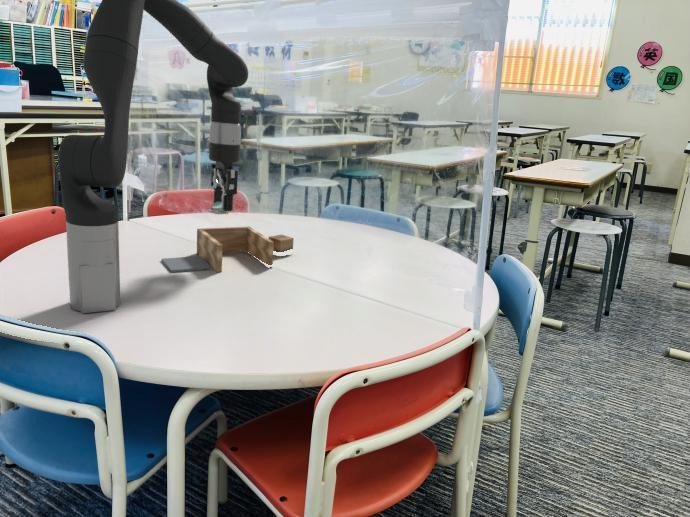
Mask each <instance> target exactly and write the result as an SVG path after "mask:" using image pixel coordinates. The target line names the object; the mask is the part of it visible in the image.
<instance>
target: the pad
mask: <svg viewBox="0 0 690 517" xmlns="http://www.w3.org/2000/svg"><path fill="white" fill-rule="evenodd" d="M161 262H162V263H163V265H165V267H166V268H167V269H168V271H170V273H171V274H172V273H184V272H183V271H186V272H194V271H193V270H198V271H203V270H202V269H211V270H213V268H212V267H211V266H210V265H209V264H208V263H207V262H206V261H205V260H204V259H203V258H201V257H200V256H199V255H197V256H196V255H195V256H183V257H167V258H166V257H165V258H161Z"/></svg>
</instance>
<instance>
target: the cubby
mask: <svg viewBox="0 0 690 517" xmlns="http://www.w3.org/2000/svg"><path fill="white" fill-rule="evenodd" d="M196 229H197V230H196V254H197V256H200V257H201V258H203V259H204V260H205V261H206V262H207V263H208V264H209V265H210V266H211V267H212V270H214V269H215V270H216V271H217V272H216V271H215V270H214V271H215V272H216V273H222V270H223V254H227V253H242V251H247V252H249V253H250V254H251V255H253V256H255V257H256V258H258V259H259V260H261V261H262V262H264V263H266V264H268V265H272V264H274V255H273V250H274V242H273V241H271V240H270V239H269V237H268V236H265V235H263V234H262V233H260V232H259V231H257V230H255V229H254V228H252V227H251V226H237V227H236V226H233V227H230V226H229V227H228V226H227V227H207V228H206V227H205V228H196ZM247 252H246V253H247ZM249 253H248V254H249ZM250 254H249V255H250ZM251 255H250V256H251ZM253 256H252V257H253Z"/></svg>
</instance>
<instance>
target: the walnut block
mask: <svg viewBox="0 0 690 517" xmlns="http://www.w3.org/2000/svg"><path fill="white" fill-rule="evenodd" d="M268 239H270V240H271V241H273V242H274V250H273V251H276V252H284V251H287V250H290V249H293V250H294V237H290V236H288V235H285V234H277V235H270V236H268Z"/></svg>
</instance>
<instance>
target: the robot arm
mask: <svg viewBox="0 0 690 517" xmlns="http://www.w3.org/2000/svg"><path fill="white" fill-rule="evenodd" d="M144 12H146V13H147V14H148V15H150V16H151V17H152V18H153V19H155V20H156V21H157V22H158V23H159V24H160V25H162V26H163V27H164V29H166V30H167V31H168V32H169V33H170V34H171V36H173V37H174V38H175V39H176V40H177V41H178V42H179V44H180V45H181V46H183V47H184V49H185V50H186V51H187V52H188V53H189V54H190V55H191V56H192V57H193V58H194V59H196V60H197V61H199V62H203V63H205V64H206V65H207V69H206V82H207V87H208V93H209V97H210V102H211V111H210V114H211V115H210V116H211V117H210V127H209V140H208V141H209V144H208V147H209V148H208V159H209V160H210V161H212V162H214V163H211V165H210V167H211V168H210V170H211V171H210V172H211V173H210V187H212V190H214V191H213V204H214V203H215V202H222V193H223V195H224V196H223V210H224V211H229V212H231V211H233V210H232V208H233V207H234V206H233V205H234V204H233V203H234V197H235V195H237V194H238V179H239V178H238V175H239V171H238V170H237V169H234V165H233V164H234V163H235V164H236V163H239V162H240V160H241V144H242V141H241V140H242V130H241V121H242V120H241V117H242V104H241V101H240V100H238V99H237V98H235V96H234V91H233V88H238V87H242V86H243V85H245V84H246V83H247V81H248V79H249V69H248V66H247V63H246V62H245V60H244V59H243V57H241V55H239V54H238V53H237V52H236V51H235V50H234V49H233V48H232V47H230V46H229V45H227V43H225V42H224V41H222V39H220V38H218V36H216V35H215V33H214V32H213V31H212V30H211V29H210V27H209V26H208V25H207V24H206V23H205V22H204V21H203V19H202V17H200V16H199V15H198V14H197V13H195V11H193V10H192V9H190V8H189V6H186V5H185V4H183V3H181V2H180V1H178V0H101V1H100V3H99V5H98V7H97V10H96V11H95V13H94V16H93V17H92V20H91V22H90V24H89V28H88V29H87V34H86V39H85V46H84V53H83V61H82V64H83V65H82V66H83V70H84V73H85V76H86V78H87V81H88V83H89V85H90V88H91V89H92V90H93V92H94V94H95V96H96V98H97V100H98V102H99V104H100V107H101V109H102V112H103V118H104V132H103V136H93V135H92V136H91V135H84V134H83V135H82V134H69V135H68V134H67V135H66V136H65V137H63V138H62V140H61V142H60V144H59V147H58V152H57V153H58V155H57V158H58V161H57V162H58V172H59V174H58V175H59V181H60V182H59V183H60V190H61V201H62V202H61V203H62V208H63V210H64V214H65V227H66V248H67V250H66V251H67V269H68V287H69V305H70V307H71V309H73V310H75V311H78V312H80V313H81V314H90V313H91V314H92V313H97V312H98V313H99V312H107V311H108V312H109V311H116V310H117V307H119V306H120V304H121V280H120V278H121V276H120V273H121V272H120V270H121V268H120V266H121V265H120V231H119V228H120V226H119V224H120V223H119V209H118V208H117V206H116V205H115V204H113V203H111V202H109V201H107V200H105V199H103V198H101V197H100V196H98V195H97V194H96V193H94V192H93V190H92V188H91V187H98V188H99V187H101V188H110V189H111V188H117V187H119V186H120V185H121V184H122V182H123V180H124V178H125V175H126V170H127V161H128V147H129V144H128V143H129V126H130V124H129V123H130V111H131V104H132V103H131V102H132V95H133V89H134V82H135V75H136V71H137V62H138V56H139V43H140V38H141V37H140V36H141V32H142V31H141V30H142V24H143V16H144Z"/></svg>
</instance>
